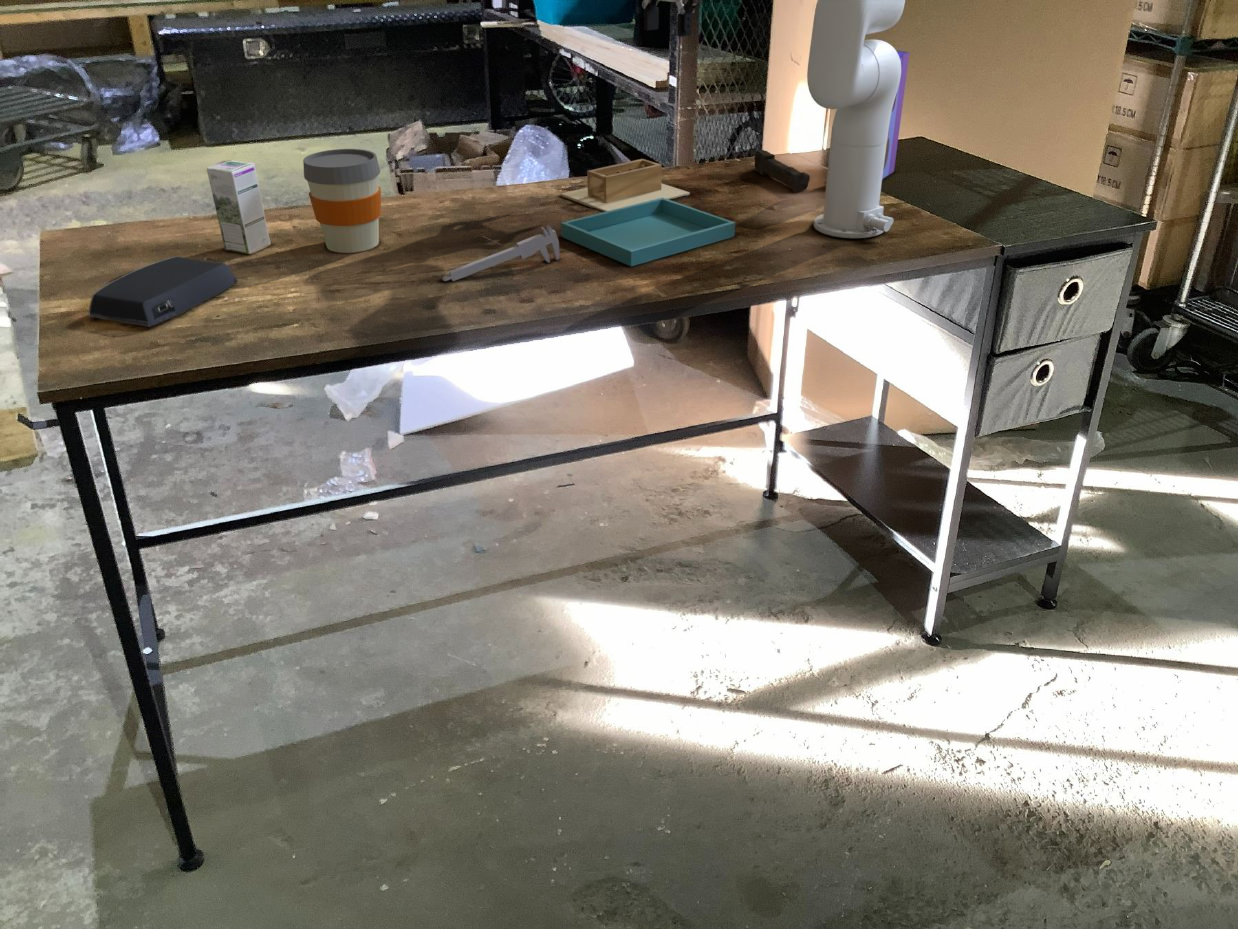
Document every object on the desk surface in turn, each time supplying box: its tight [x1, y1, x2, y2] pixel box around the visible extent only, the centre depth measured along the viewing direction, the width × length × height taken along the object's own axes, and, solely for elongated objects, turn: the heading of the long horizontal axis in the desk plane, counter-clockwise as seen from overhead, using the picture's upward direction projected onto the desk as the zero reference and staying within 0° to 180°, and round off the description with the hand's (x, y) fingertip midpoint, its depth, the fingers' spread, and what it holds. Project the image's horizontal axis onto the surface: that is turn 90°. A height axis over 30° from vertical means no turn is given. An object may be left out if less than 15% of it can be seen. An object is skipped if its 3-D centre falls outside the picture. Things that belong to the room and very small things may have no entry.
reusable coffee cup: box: [302, 148, 382, 254], centre depth 175 cm, size 12×13×15 cm
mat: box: [560, 182, 691, 212], centre depth 202 cm, size 16×20×1 cm
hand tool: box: [753, 149, 811, 194], centre depth 209 cm, size 19×4×5 cm, turn 19°
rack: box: [586, 158, 663, 203], centre depth 201 cm, size 6×14×5 cm, turn 129°
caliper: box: [441, 224, 561, 282], centre depth 165 cm, size 20×1×6 cm, turn 118°
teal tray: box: [560, 198, 736, 267], centre depth 180 cm, size 20×24×3 cm
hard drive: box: [88, 255, 239, 328], centre depth 156 cm, size 13×19×4 cm
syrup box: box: [206, 159, 272, 255], centre depth 174 cm, size 6×6×14 cm
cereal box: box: [882, 49, 910, 181], centre depth 204 cm, size 17×5×24 cm, turn 147°
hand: (667, 32), depth 198 cm, fingers open, 9 cm apart
